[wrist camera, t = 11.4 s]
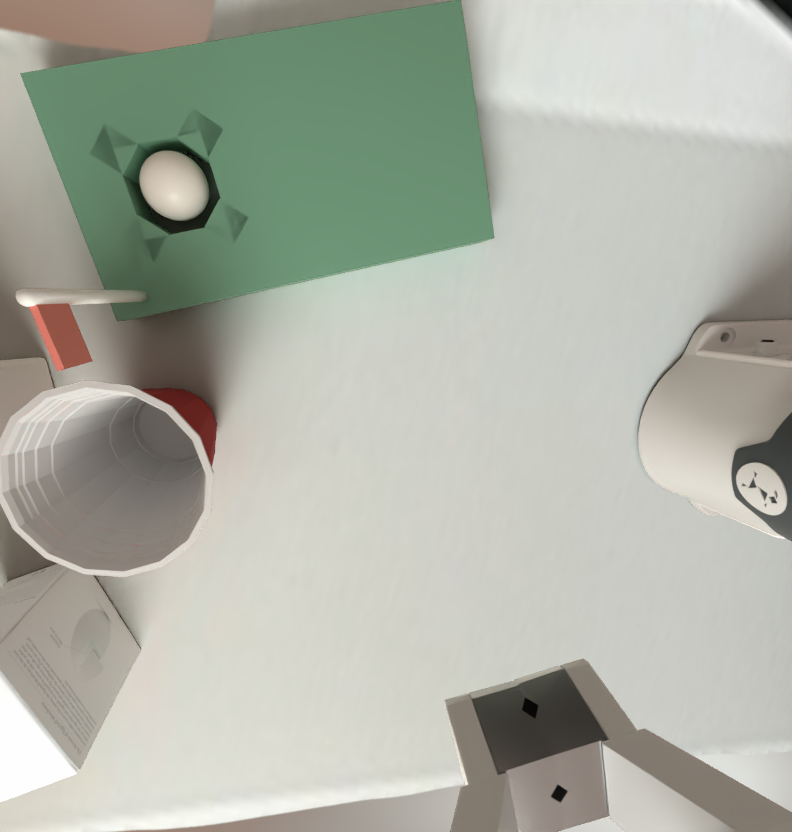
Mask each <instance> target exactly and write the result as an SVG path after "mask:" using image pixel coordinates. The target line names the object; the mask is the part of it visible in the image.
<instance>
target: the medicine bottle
mask: <svg viewBox="0 0 792 832" xmlns="http://www.w3.org/2000/svg"><path fill="white" fill-rule="evenodd" d="M50 389H54V387H53V384H52V380H51V376H50V373H49V369H48V365H47V362H46V360H45V359H44V358H40V357H35V358H23V359H10V360H0V438H1V436H2V434H3V432H4V430H5V427H6V425H7V423H8V421H9V419H10V417H11V416H13V415H14V414H15V413H16V412H18V411H19V410H20V409H21V408H23V407H24V406H25V405H26V404H28V403H29V402H30V401H31V400H32V399H34V398H35V397H36V396H37V395H39V394H40V393H41V392H43V391H46V390H50Z"/></svg>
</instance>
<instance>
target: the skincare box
mask: <svg viewBox="0 0 792 832" xmlns="http://www.w3.org/2000/svg"><path fill="white" fill-rule="evenodd" d="M140 652H141V649H140V648H139V646H138V644H137V643H136V641H135V639H134V638H133V636H132V635H131V633H130V632H129V630H128V628H127V627H126V625H125V624H124V622H123V621H122V619H121V617H120V616H119V614H118V613H117V611H116V610H115V608H114V606H113V605H112V603H111V602H110V600H109V599H108V597H107V595H106V594H105V592H104V591H103V589H102V588H101V586H100V585H99V583H98V582H97V580H96V579H95V577H94V575H86V574H82V573H80V572H77V571H75V570H72V569H70V568H68V567H65V566H63V565H60V564H55V565H52V566H49V567H47V568H44V569H41V570H38V571H35V572H32V573H30V574H27V575H24V576H21V577H19V578H16V579H13V580H11V581H8V582H6V583H5V584H4V585H3V586H2V587H1V588H0V802H3V801H5V800H8V799H11V798H13V797H16V796H19V795H21V794H24V793H27V792H29V791H32V790H35V789H37V788H40V787H43V786H45V785H48V784H51V783H53V782H56V781H59V780H61V779H64V778H67V777H69V776H72V775H75V774H77V773H78V771H79V770H80V769H81V767H82V765H83V763H84V760H85V759H86V757H87V755H88V752H89V750H90V748H91V746H92V744H93V742H94V740H95V738H96V736H97V734H98V732H99V730H100V728H101V726H102V724H103V722H104V720H105V718H106V717H107V715H108V713H109V711H110V709H111V707H112V705H113V703H114V701H115V699H116V697H117V695H118V693H119V691H120V689H121V687H122V685H123V684H124V682H125V680H126V678H127V676H128V674H129V672H130V670H131V668H132V666H133V664H134V663H135V661H136V659H137V658H138V656H139V654H140Z"/></svg>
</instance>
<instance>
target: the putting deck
mask: <svg viewBox="0 0 792 832" xmlns="http://www.w3.org/2000/svg"><path fill="white" fill-rule="evenodd" d="M20 74H21V77H22V79H23V82H24V84H25V87H26V89H27V92H28V94H29V97H30V100H31V102H32V105H33V107H34V110H35V112H36V115H37V117H38V120H39V123H40V125H41V128H42V130H43V133H44V135H45V138H46V140H47V143H48V146H49V148H50V151H51V153H52V156H53V158H54V161H55V164H56V166H57V169H58V171H59V174H60V176H61V179H62V181H63V184H64V187H65V189H66V192H67V194H68V197H69V199H70V202H71V204H72V207H73V210H74V212H75V215H76V217H77V220H78V222H79V225H80V227H81V230H82V233H83V235H84V238H85V240H86V243H87V245H88V248H89V250H90V253H91V256H92V258H93V261H94V263H95V266H96V268H97V271H98V274H99V276H100V279H101V281H102V284H103V286H104V289H105V290H93V289H42V288H21V289H19V290H18V291H17V292H16V299H17V301H18V302H19V303H20V304H21V305H23V306H27V307H29V308H30V311H31V313H32V315H33V317H34V320H35V322H36V324H37V326H38V329H39V331H40V333H41V335H42V338H43V340H44V342H45V344H46V347H47V349H48V351H49V353H50V356H51V358H52V360H53V362H54V365H55V367H56V369H57V371H59V370H63V369H67V368H70V367H74V366H77V365H81V364H84V363H87V362H91V361H92V359H91V356H90V354H89V351H88V349H87V347H86V344H85V342H84V339H83V337H82V335H81V332H80V330H79V327H78V325H77V323H76V320H75V318H74V315H73V313H72V311H71V308H70V306H69V305H75V304H99V303H110V304H111V307H112V309H113V312H114V314H115V317H116V320H117V321H125V320H132V319H138V318H142V317H147V316H151V315H156V314H160V313H165V312H169V311H174V310H178V309H183V308H187V307H192V306H196V305H201V304H205V303H210V302H214V301H219V300H223V299H228V298H232V297H237V296H241V295H246V294H250V293H255V292H259V291H264V290H268V289H273V288H277V287H282V286H286V285H291V284H295V283H300V282H305V281H309V280H314V279H318V278H323V277H327V276H332V275H336V274H341V273H345V272H350V271H354V270H359V269H363V268H368V267H372V266H377V265H381V264H386V263H390V262H395V261H399V260H404V259H408V258H413V257H417V256H422V255H426V254H431V253H435V252H440V251H444V250H449V249H453V248H458V247H462V246H467V245H471V244H476V243H480V242H483V241H486V240H489V239H493V238H494V231H493V224H492V217H491V210H490V203H489V196H488V189H487V182H486V175H485V167H484V160H483V153H482V146H481V139H480V132H479V125H478V118H477V111H476V104H475V96H474V89H473V82H472V75H471V68H470V61H469V54H468V47H467V40H466V33H465V25H464V18H463V11H462V4H461V0H454V1H449V2H443V3H437V4H431V5H425V6H419V7H413V8H407V9H401V10H395V11H389V12H383V13H377V14H371V15H365V16H359V17H353V18H347V19H341V20H335V21H329V22H324V23H318V24H312V25H306V26H300V27H294V28H288V29H282V30H276V31H270V32H264V33H258V34H252V35H246V36H240V37H234V38H228V39H222V40H216V41H210V42H204V43H199V44H193V45H187V46H181V47H175V48H169V49H163V50H157V51H151V52H145V53H139V54H133V55H127V56H121V57H115V58H109V59H103V60H97V61H91V62H85V63H79V64H74V65H68V66H62V67H56V68H50V69H44V70H38V71H32V72H26V73H20ZM165 150H167V151H176V152H179V153H186V152H190V153H192V154H193V155H195V156H196V157H198V158H199V159H201V160H202V161H204V162H205V163H207V164H208V165H210V166H211V168H212V172H213V175H214V178H215V182H216V185H217V188H218V192H219V195H220V198H221V199H219V201H218V202H217V204H216V206H215V208H214V210H213V212H212V214H211V216H210V217H209V219H208V221H207V223H206V225H205V228H200V229H195V230H190V231H185V232H181V233H176V234H173V233H171V232H169V231H168V230H166V229H165V228H163V227H161V226H160V225H158V224H156V223H155V222H153V219H152V216H151V213H150V210H149V207H148V205H147V202H146V199H145V198H144V196H143V194H142V191H141V187H140V182H139V176H140V170H141V167H142V165H143V163H144V162H145V160H146V159H147V158H148V157H149V156H151V155H152V154H154V153H156V152H159V151H165Z"/></svg>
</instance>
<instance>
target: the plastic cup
mask: <svg viewBox="0 0 792 832" xmlns="http://www.w3.org/2000/svg"><path fill="white" fill-rule="evenodd" d="M216 427H217V423H216V421H215V418H214V416H213V413H212V410H211V408H210V407H209V406H208V405H207V404H206V403H205V402H204V401H203V400H202V399H201V398H200V397H198V396H196V395H194V394H192V393H190V392H188V391H186V390H182V389H172V388H164V389H142V390H139V389H137V388H135V387H133V386H130V385H121V384H112V383H104V382H95V381H87V380H84V381H80V382H77V383H73V384H69V385H65V386H61V387H58V388H54V389H50V390H46V391H43V392H41V393H40V394H39V395H37V396H36V397H35V398H34V399H32V400H31V401H30V402H29V403H28V404H26V405H25V406H24V407H23V408H21V409H20V410H19V411H18V412H16V413H15V414H14V415H13V416H11V417H10V419H9V421H8V423H7V425H6V427H5V430H4V432H3V434H2V436H1V438H0V504H1V506H2V508H3V510H4V512H5V514H6V516H7V518H8V520H9V522H10V524H11V526H12V528H13V530H14V531H15V532H16V533H17V534H19V535H20V536H21V537H22V538H23V539H24V540H25V541H26V542H27V543H29V544H30V545H31V546H32V547H33V548H34V549H35V550H36V551H38V552H39V553H40V554H41V555H42V556H43V557H44V558H46V559H48V560H51V561H53V562H56V563H58V564H60V565H63V566H65V567H68V568H70V569H72V570H75V571H77V572H80V573H82V574H86V575H101V576H116V577H128V576H131V575H135V574H138V573H142V572H145V571H149V570H152V569H156V568H159V567H163V566H165V565H166V564H167V563H169V562H170V561H171V560H173V559H174V558H175V557H176V556H178V555H179V554H180V553H182V552H183V551H184V550H186V549H187V548H188V547H190V546H191V545H192V544H193V543H194V542H195V540H196V538H197V536H198V534H199V532H200V531H201V529H202V527H203V525H204V523H205V521H206V520H207V518H208V516H209V514H210V512H211V504H212V487H213V469H212V463H213V458H214V453H215V441H216Z"/></svg>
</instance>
